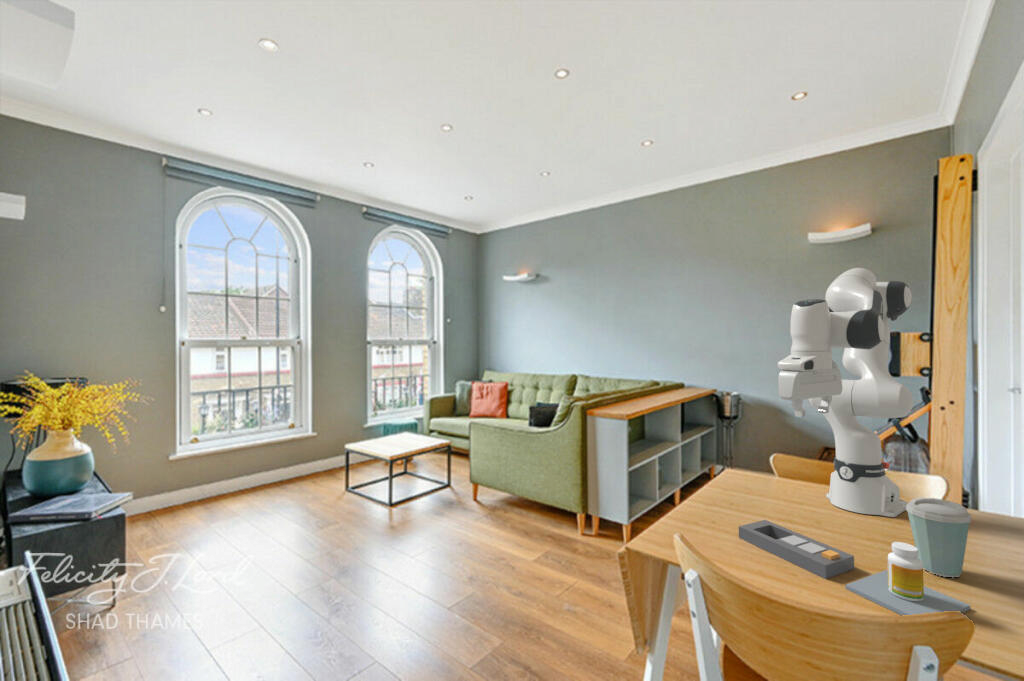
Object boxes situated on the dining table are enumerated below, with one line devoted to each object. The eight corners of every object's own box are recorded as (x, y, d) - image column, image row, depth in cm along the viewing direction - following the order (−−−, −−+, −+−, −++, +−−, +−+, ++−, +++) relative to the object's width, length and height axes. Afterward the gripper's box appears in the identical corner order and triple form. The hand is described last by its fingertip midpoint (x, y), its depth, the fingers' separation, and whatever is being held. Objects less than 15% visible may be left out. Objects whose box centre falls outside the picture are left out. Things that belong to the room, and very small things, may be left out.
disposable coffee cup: (958, 588, 91) (957, 516, 91) (895, 564, 101) (895, 499, 101) (983, 576, 96) (982, 508, 96) (921, 555, 105) (920, 492, 105)
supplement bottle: (931, 603, 85) (930, 553, 85) (898, 601, 86) (898, 551, 86) (911, 588, 90) (911, 541, 90) (881, 585, 92) (881, 539, 92)
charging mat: (885, 573, 98) (885, 570, 98) (970, 609, 85) (970, 605, 85) (845, 588, 92) (845, 584, 92) (929, 628, 79) (929, 624, 79)
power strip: (765, 530, 120) (765, 516, 120) (854, 569, 100) (854, 552, 100) (738, 537, 116) (738, 523, 116) (825, 579, 96) (825, 561, 96)
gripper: (824, 359, 121) (825, 409, 122) (773, 363, 113) (774, 416, 114) (849, 360, 116) (850, 412, 116) (797, 364, 108) (798, 420, 108)
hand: (812, 414), depth 115 cm, fingers open, 8 cm apart
